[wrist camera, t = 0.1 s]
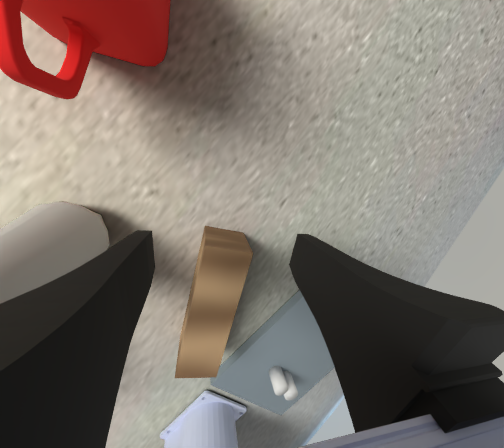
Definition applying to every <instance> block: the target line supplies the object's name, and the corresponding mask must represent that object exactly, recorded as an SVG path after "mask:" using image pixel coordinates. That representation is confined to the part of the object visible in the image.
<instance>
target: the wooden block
mask: <svg viewBox="0 0 504 448" xmlns="http://www.w3.org/2000/svg"><path fill="white" fill-rule="evenodd" d="M252 256H253V252H252V250H251V248H250V246H249V244H248V242H247V239H246V237H245V235H244V233H241V232H236V231H230V230H225V229H219V228H214V227H209V226H205V228H204V233H203V237H202V242H201V246H200V250H199V255H198V259H197V264H196V268H195V273H194V277H193V282H192V286H191V291H190V295H189V300H188V304H187V309H186V313H185V318H184V322H183V327H182V331H181V336H180V342H179V350H178V358H177V365H176V373H175V378H205V377H216V376H217V373H218V370H219V366H220V363H221V360H222V356H223V353H224V350H225V346H226V343H227V340H228V336H229V333H230V330H231V326H232V323H233V320H234V316H235V313H236V310H237V306H238V303H239V300H240V296H241V293H242V290H243V286H244V283H245V279H246V276H247V273H248V269H249V266H250V263H251V259H252Z"/></svg>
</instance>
